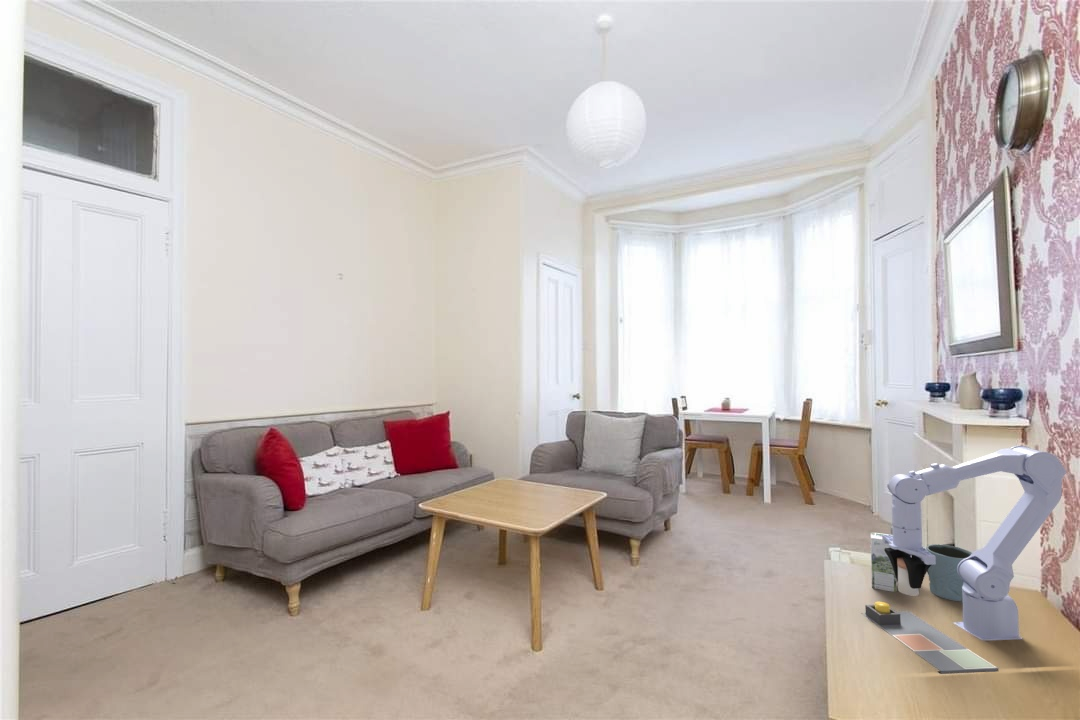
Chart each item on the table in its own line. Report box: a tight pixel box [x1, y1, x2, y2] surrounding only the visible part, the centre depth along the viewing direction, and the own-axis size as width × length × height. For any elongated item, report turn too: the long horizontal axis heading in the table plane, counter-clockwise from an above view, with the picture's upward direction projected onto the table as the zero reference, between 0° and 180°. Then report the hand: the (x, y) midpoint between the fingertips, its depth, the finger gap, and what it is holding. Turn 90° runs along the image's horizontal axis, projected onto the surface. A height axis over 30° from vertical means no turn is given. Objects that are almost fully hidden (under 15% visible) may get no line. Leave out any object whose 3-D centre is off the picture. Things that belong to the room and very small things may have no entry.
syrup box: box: [870, 531, 898, 593], centre depth 141 cm, size 6×6×14 cm
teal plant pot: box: [925, 543, 973, 603], centre depth 136 cm, size 10×10×12 cm
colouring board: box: [860, 610, 999, 675], centre depth 115 cm, size 12×24×1 cm, turn 2°
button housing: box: [864, 604, 901, 625], centre depth 123 cm, size 5×5×2 cm
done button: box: [874, 601, 891, 613], centre depth 123 cm, size 3×3×3 cm
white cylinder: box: [897, 557, 920, 597], centre depth 122 cm, size 4×4×8 cm
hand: (908, 583), depth 122 cm, fingers closed on white cylinder, 4 cm apart
